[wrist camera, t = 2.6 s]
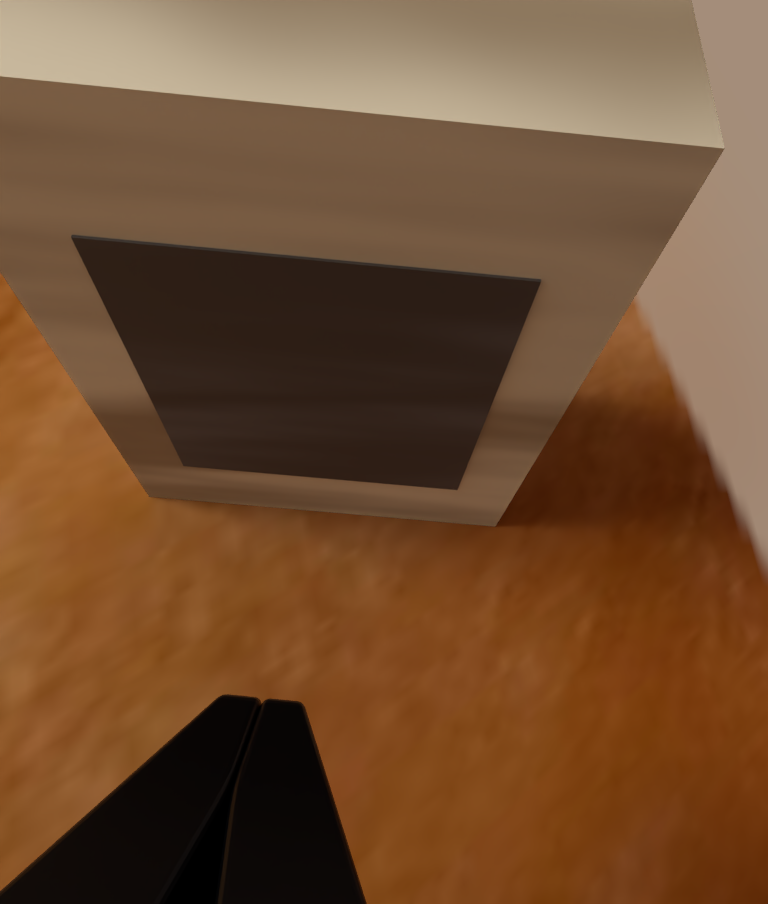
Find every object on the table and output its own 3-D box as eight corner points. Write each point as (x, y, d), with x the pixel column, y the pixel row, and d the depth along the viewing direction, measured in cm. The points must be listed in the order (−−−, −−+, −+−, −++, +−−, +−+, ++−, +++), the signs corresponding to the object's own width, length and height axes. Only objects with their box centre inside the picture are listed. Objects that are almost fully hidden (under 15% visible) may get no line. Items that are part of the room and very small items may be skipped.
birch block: (495, 528, 20) (724, 151, 8) (149, 498, 19) (-141, 64, 8) (494, 380, 22) (673, -82, 10) (184, 352, 22) (2, -154, 10)
